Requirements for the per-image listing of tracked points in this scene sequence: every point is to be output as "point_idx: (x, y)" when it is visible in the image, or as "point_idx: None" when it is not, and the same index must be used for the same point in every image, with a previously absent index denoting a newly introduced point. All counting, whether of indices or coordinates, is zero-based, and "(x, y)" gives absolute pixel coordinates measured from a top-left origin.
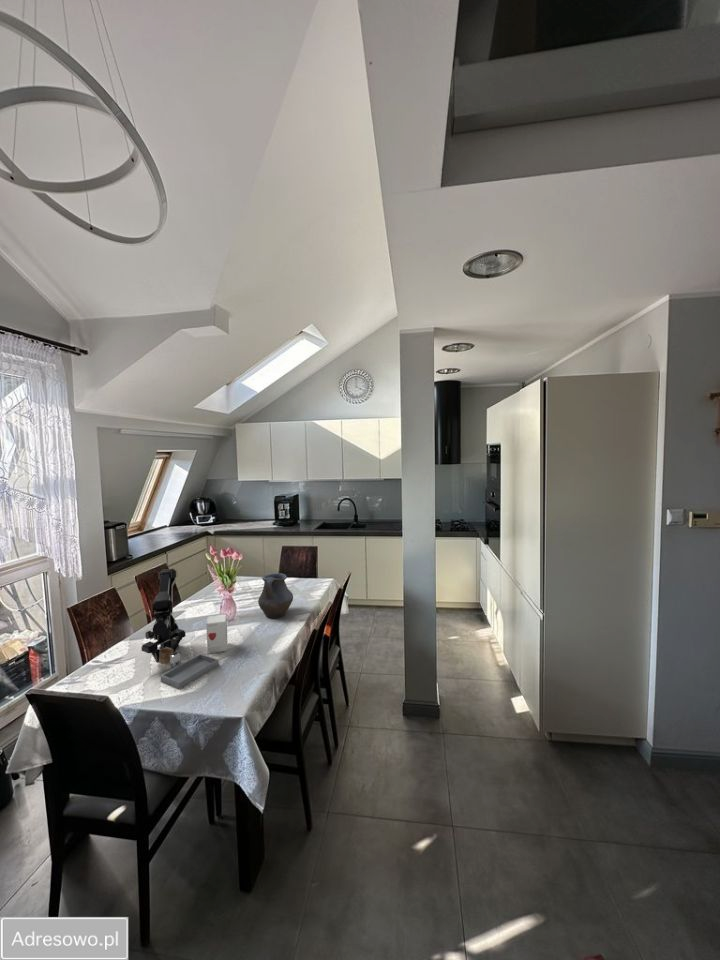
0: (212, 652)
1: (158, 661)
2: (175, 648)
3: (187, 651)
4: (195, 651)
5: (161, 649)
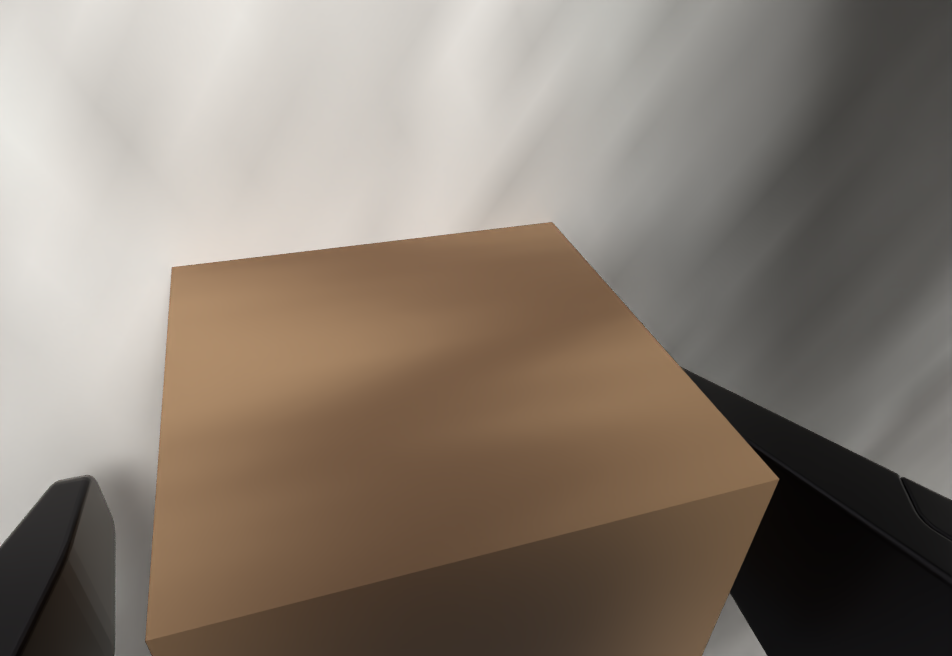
0: None
1: (105, 571)
2: (760, 623)
3: (869, 373)
4: None
5: (478, 580)
